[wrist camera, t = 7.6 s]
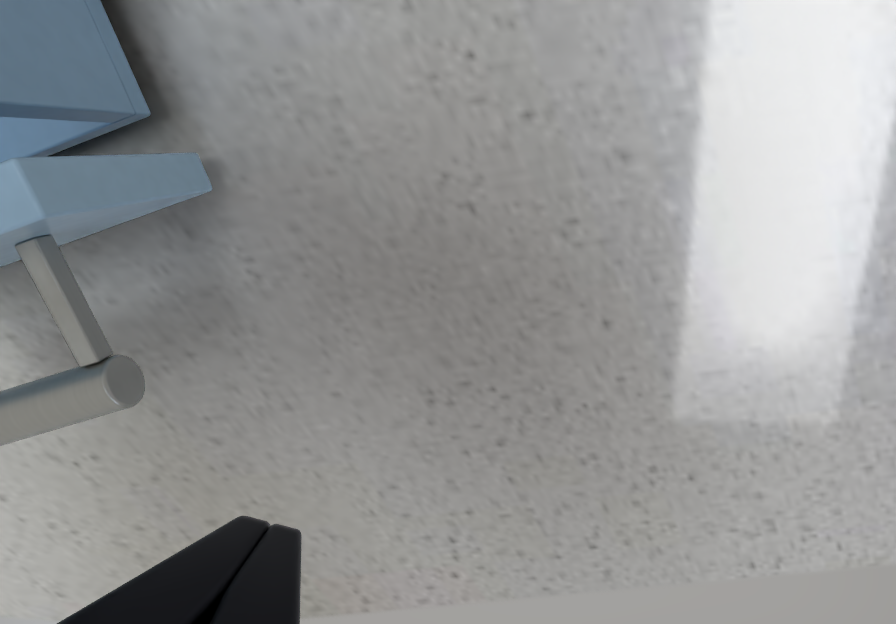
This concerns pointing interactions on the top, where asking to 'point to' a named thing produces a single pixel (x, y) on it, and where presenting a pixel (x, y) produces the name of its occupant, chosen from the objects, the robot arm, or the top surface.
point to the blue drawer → (72, 192)
